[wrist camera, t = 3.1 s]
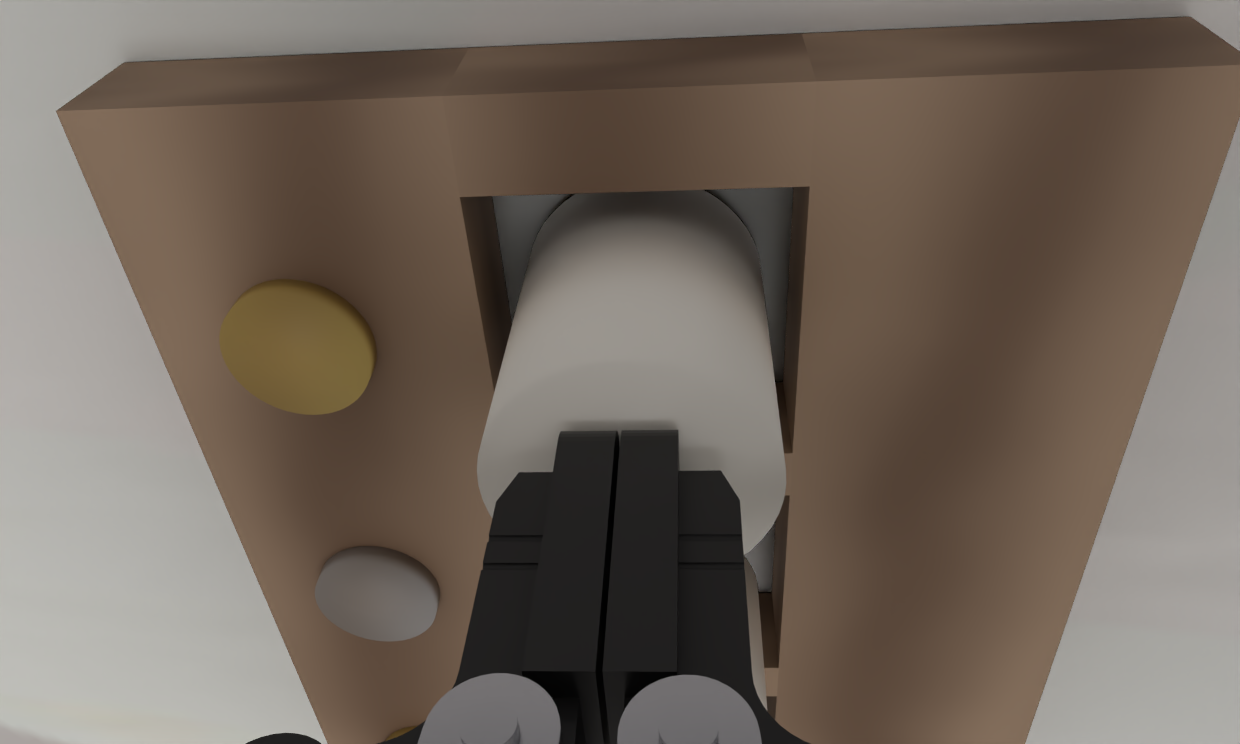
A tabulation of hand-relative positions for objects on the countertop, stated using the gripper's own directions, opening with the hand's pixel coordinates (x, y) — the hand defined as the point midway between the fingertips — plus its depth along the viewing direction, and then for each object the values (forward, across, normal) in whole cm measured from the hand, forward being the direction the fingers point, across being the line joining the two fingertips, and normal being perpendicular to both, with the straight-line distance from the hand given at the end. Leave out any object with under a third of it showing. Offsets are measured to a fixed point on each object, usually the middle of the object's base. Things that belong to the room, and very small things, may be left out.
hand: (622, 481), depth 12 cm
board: (+5, 0, +6) cm, 8 cm away
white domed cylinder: (+5, 0, 0) cm, 5 cm away
